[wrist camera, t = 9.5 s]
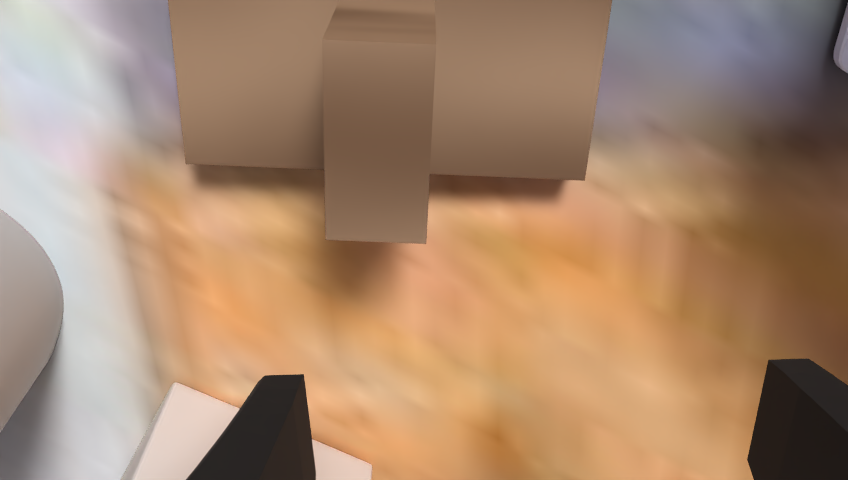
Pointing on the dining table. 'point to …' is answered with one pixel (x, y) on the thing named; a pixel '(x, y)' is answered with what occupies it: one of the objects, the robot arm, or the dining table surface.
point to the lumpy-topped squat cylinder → (25, 313)
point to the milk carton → (211, 441)
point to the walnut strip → (389, 95)
